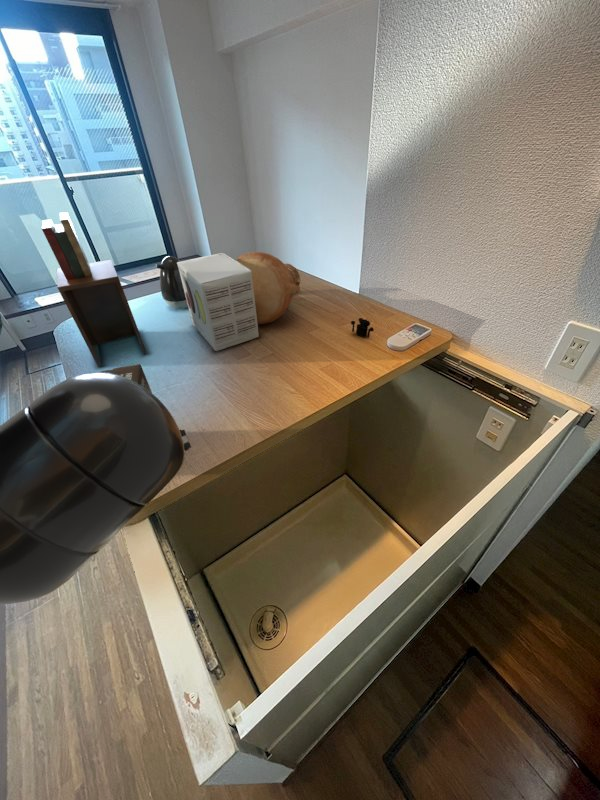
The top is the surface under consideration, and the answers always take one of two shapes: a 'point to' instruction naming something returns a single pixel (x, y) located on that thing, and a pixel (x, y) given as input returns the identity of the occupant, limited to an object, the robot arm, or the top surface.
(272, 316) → the jug
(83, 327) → the shelf
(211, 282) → the supplement box
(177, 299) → the pump dispenser
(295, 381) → the top surface
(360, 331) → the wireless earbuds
